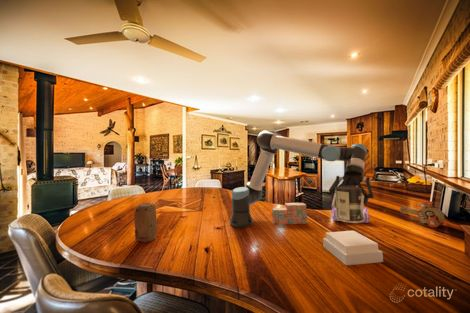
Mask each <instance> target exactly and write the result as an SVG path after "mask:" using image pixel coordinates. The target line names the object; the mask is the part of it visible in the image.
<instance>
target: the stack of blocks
mask: <svg viewBox="0 0 470 313" xmlns="http://www.w3.org/2000/svg"><path fill="white" fill-rule="evenodd" d="M284 206H285V207H271V208H272V209H271V211H272V212H271V218H272V224H273V225H297V224H298V225H305V224H308V222H307V221H308V220H307V219H308V216H307V215H308V212H307V204H306V203H304V202H285V203H284Z"/></svg>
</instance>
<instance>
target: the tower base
mask: <svg viewBox="0 0 470 313" xmlns="http://www.w3.org/2000/svg"><path fill="white" fill-rule="evenodd" d="M322 243H323V244H322V245H323V246H322V247H323V248H325V249H326V250H327V251H328V252H329V253H330V254H332V255H333V256H334V257H335V258H337V260H339V261H340V262H341V263H343V265H345V266H354V265H356V266H357V265H364V264H373V263H375V264H377V263H384V257H383V256H384V255H383V252H384V251H382V250H380V249H379V243H378V242H376V241H373V240H371V239H369V238H368V237H366V236H365V235H363V234H360V233H359V232H358V231H355V230H344V231H343V230H342V231H331V232H330V231H326V232H325V237H323V238H322Z"/></svg>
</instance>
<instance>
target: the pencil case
mask: <svg viewBox="0 0 470 313" xmlns="http://www.w3.org/2000/svg"><path fill="white" fill-rule="evenodd" d="M330 207H331V214H330V215H331V219H332V221H334V222H341V221H340V220H338V219H337V218H336V207H335V208H333V206H332V205H331V206H330ZM370 219H371V218H370V214H369V211H368V207H364V211H363V222H362V223H364V224H365V223H369V222H370Z"/></svg>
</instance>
